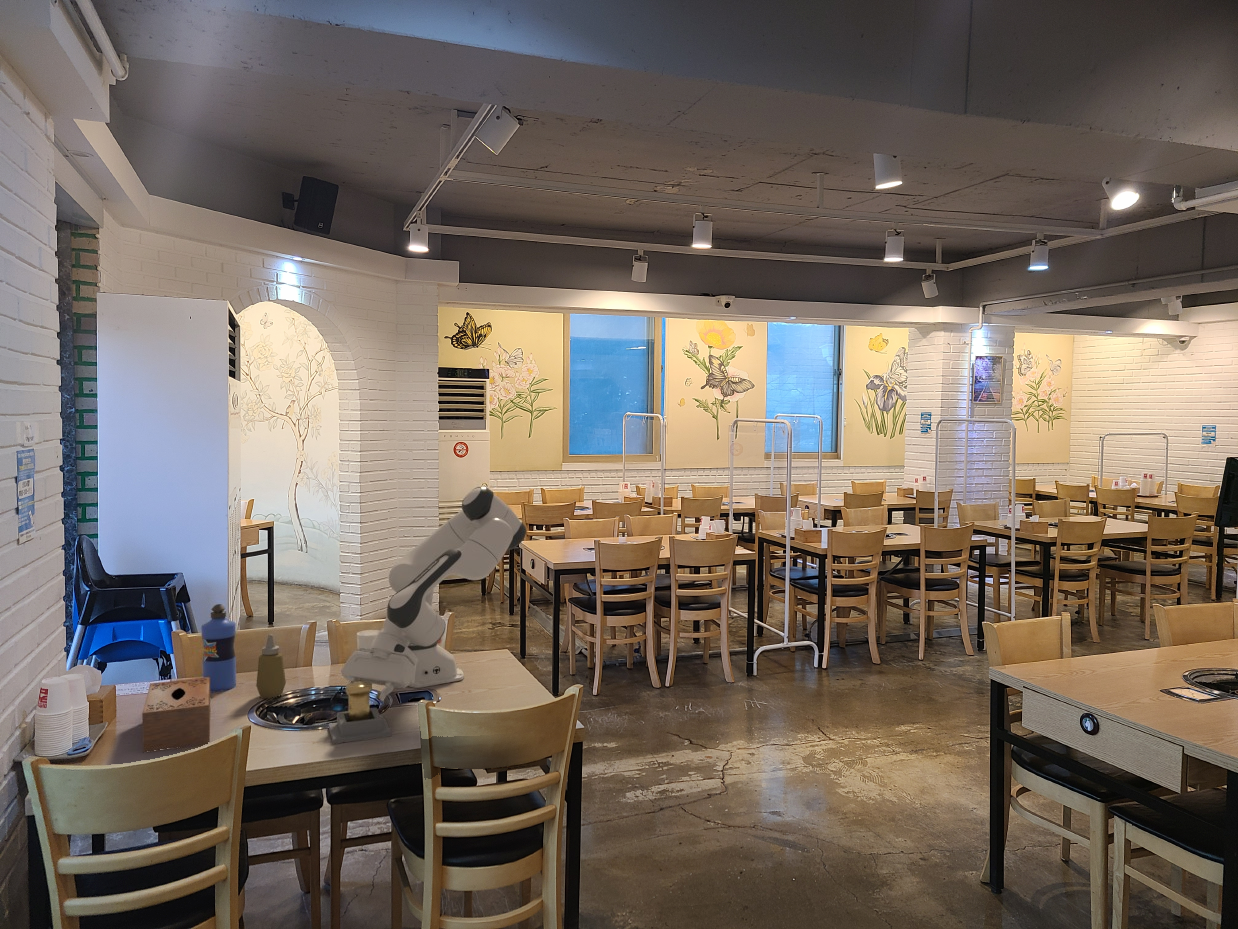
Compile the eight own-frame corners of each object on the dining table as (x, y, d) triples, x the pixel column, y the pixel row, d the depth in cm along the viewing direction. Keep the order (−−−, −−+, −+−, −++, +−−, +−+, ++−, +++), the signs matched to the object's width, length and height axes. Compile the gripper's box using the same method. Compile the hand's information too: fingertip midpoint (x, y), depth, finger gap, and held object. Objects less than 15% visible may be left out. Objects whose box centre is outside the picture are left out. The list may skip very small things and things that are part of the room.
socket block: (383, 721, 227) (383, 705, 227) (390, 736, 216) (390, 719, 216) (328, 728, 222) (328, 712, 221) (333, 744, 211) (333, 727, 210)
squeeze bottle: (275, 701, 243) (274, 639, 242) (250, 699, 244) (249, 637, 243) (291, 692, 251) (291, 632, 250) (267, 690, 252) (266, 630, 251)
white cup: (359, 659, 286) (359, 630, 286) (383, 659, 287) (383, 629, 287) (354, 666, 278) (354, 635, 278) (379, 665, 279) (378, 635, 279)
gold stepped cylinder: (370, 722, 223) (370, 680, 223) (373, 729, 217) (373, 687, 217) (344, 725, 220) (344, 683, 220) (347, 733, 215) (347, 690, 214)
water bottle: (220, 680, 262) (219, 600, 260) (243, 684, 258) (242, 603, 257) (195, 689, 253) (193, 606, 252) (218, 693, 249) (217, 609, 248)
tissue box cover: (150, 720, 228) (150, 683, 227) (210, 712, 234) (209, 676, 233) (143, 754, 204) (142, 713, 204) (209, 744, 210) (208, 705, 210)
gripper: (351, 641, 232) (326, 686, 223) (413, 648, 224) (390, 696, 215) (361, 653, 236) (338, 698, 228) (423, 661, 228) (401, 708, 220)
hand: (364, 697), depth 221 cm, fingers open, 8 cm apart
